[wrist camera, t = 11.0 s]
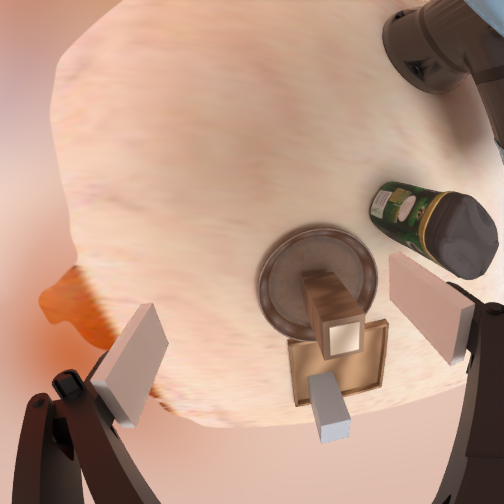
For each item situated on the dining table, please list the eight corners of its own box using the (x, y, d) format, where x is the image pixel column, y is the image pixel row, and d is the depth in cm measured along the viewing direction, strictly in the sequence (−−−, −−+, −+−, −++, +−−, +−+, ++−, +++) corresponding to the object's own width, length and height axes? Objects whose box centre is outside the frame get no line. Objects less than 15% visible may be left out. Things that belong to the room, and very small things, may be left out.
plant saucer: (319, 349, 46) (323, 360, 43) (233, 294, 43) (232, 303, 40) (390, 270, 42) (399, 277, 39) (309, 198, 39) (314, 201, 36)
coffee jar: (428, 206, 39) (512, 234, 21) (405, 248, 41) (480, 297, 23) (385, 171, 38) (471, 181, 20) (360, 217, 39) (433, 256, 22)
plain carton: (332, 370, 47) (350, 419, 35) (332, 390, 48) (348, 437, 37) (307, 376, 47) (321, 426, 35) (308, 394, 48) (321, 443, 37)
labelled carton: (333, 271, 39) (365, 314, 27) (335, 303, 40) (363, 352, 29) (301, 277, 39) (323, 323, 27) (304, 309, 40) (324, 361, 29)
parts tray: (385, 319, 44) (388, 323, 43) (378, 382, 49) (381, 387, 47) (287, 339, 45) (288, 344, 43) (294, 401, 49) (295, 406, 48)
